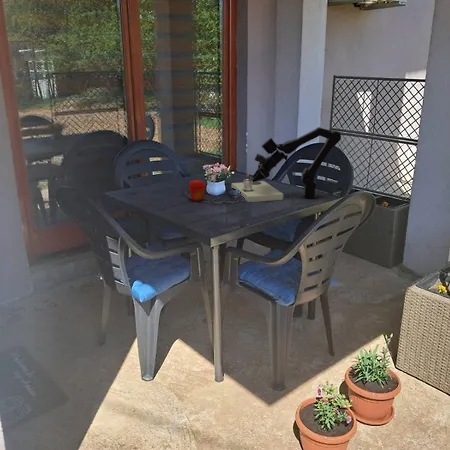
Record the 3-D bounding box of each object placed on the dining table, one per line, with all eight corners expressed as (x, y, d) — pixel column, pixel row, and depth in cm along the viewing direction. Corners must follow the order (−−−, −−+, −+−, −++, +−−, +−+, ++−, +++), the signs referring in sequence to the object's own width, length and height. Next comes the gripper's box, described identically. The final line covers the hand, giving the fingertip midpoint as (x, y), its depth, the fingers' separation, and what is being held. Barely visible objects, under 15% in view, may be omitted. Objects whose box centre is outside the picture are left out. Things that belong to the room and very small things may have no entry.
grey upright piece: (253, 196, 271) (253, 175, 268) (244, 196, 270) (245, 175, 266) (250, 194, 276) (251, 173, 272) (242, 194, 275) (242, 173, 271)
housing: (283, 199, 266) (283, 193, 265) (248, 202, 260) (248, 196, 259) (263, 186, 293) (263, 180, 292) (231, 188, 288) (231, 182, 287)
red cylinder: (208, 199, 264) (208, 178, 260) (197, 203, 258) (196, 181, 254) (197, 196, 270) (197, 175, 266) (185, 199, 264) (185, 178, 260)
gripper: (263, 146, 273) (243, 165, 277) (264, 152, 255) (242, 172, 260) (277, 160, 275) (256, 179, 279) (278, 167, 257) (256, 187, 262)
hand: (252, 179), depth 270 cm, fingers open, 9 cm apart
